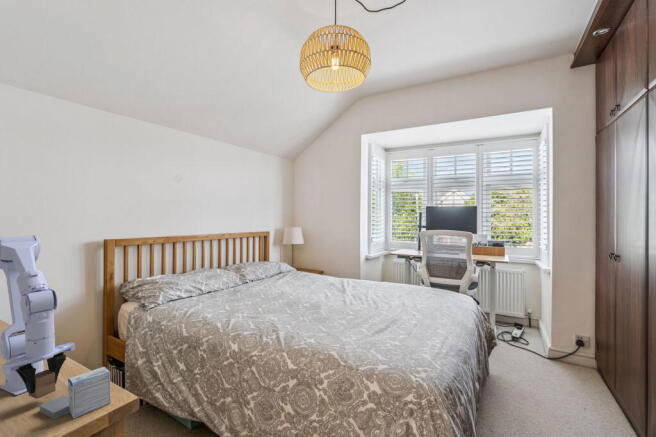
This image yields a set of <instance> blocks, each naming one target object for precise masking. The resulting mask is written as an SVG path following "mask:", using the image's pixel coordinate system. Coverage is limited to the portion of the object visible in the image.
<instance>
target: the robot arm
mask: <svg viewBox="0 0 656 437" xmlns="http://www.w3.org/2000/svg"><path fill="white" fill-rule="evenodd" d="M41 245H42V244H41V239H40V238H39V236H37V235H36V234H35V235H28V236H27V235H24V236H7V237H0V270H2V271H3V272H4V275H5V278H6V285H7V294H8V300H9V306H10V314H11V322H12V323H11V325H9V326H8V327H6V328H5V329H4V330H3V331H2V332H1V334H0V355H1V358H2V359H3V360H5V363H3V364H1V373H3V374H4V385H2V386H1V385H0V389H2V390H4V391H5V392H8V393H10V394H12V395H15V396H18V395H20V394H23V393H25V392H27V393H28V394H29V393H30V394H32V393H35V374H36V373H39V372H42V371H44V370H45V369H44V361H45V360H46V363H47V370H50V371H53V372H55V385H56V384H57V380H58V377H59V374H60V372H61V368H62V366H63V365H64V363H65V361H66V360H67V355H66V354H64V353H68V352H73V351H75V350H76V345H75V342H67V343H64V344H59V345H56V334H55V333H56V331H55V312H54V311H56V310H57V308H58V297H57V296H58V295H57V291H56V290H55V289H54V288H53V287H52V286H49V284H48V281H47V278H46V276H45V273H44V272H43V271H41V270H38V268H37V260H38V258H39V255H40V253H41V248H42V247H41Z"/></svg>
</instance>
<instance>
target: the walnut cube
mask: <svg viewBox="0 0 656 437" xmlns="http://www.w3.org/2000/svg"><path fill="white" fill-rule="evenodd" d="M56 390H57V389H56V384H55V372H53V371H50V370H48V369H44V371H42V372H39V373H36V374H35V393H32V394H30V393H28V396H29V397H31V398H34V399H36V400H38V399H40V398H42V397H45V396H47V395H49V394H51V393H52V394H53V393H54V392H56Z"/></svg>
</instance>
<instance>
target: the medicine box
mask: <svg viewBox="0 0 656 437" xmlns="http://www.w3.org/2000/svg"><path fill="white" fill-rule="evenodd" d="M67 384H68V385H67V386H68V387H67V389H68V398H69V411H70V412H69V413H70V414H71V416H72V418H73V419H77V418H79V417H81V416H84V415H85V414H88V413H91V412H93V411H95V410H98V409H99V408H102V407H104V406H105V407H106V406H107V405H110V404H111V403H112V396H111V394H112V393H111V391H112V390H111V371H109V369H108V368H107V367H105V366H102V367H99V368H95V369H92V370H90V371H87V372H83V373H80V374H78V375H75V376H73V377H69V378H68V379H67Z"/></svg>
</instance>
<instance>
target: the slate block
mask: <svg viewBox="0 0 656 437" xmlns="http://www.w3.org/2000/svg"><path fill="white" fill-rule="evenodd" d="M39 412H40V413H41V414H43V415H45V416H46V417H49V418H51V419H52V420H57V419H59V418H60V417H62V416H64V415H66V414H68V413H70V411H69V396H67V395H61V396H58V397H57V398H53V399H52V400H49V401H47V402H45V403H43V404H41V405H39Z"/></svg>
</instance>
